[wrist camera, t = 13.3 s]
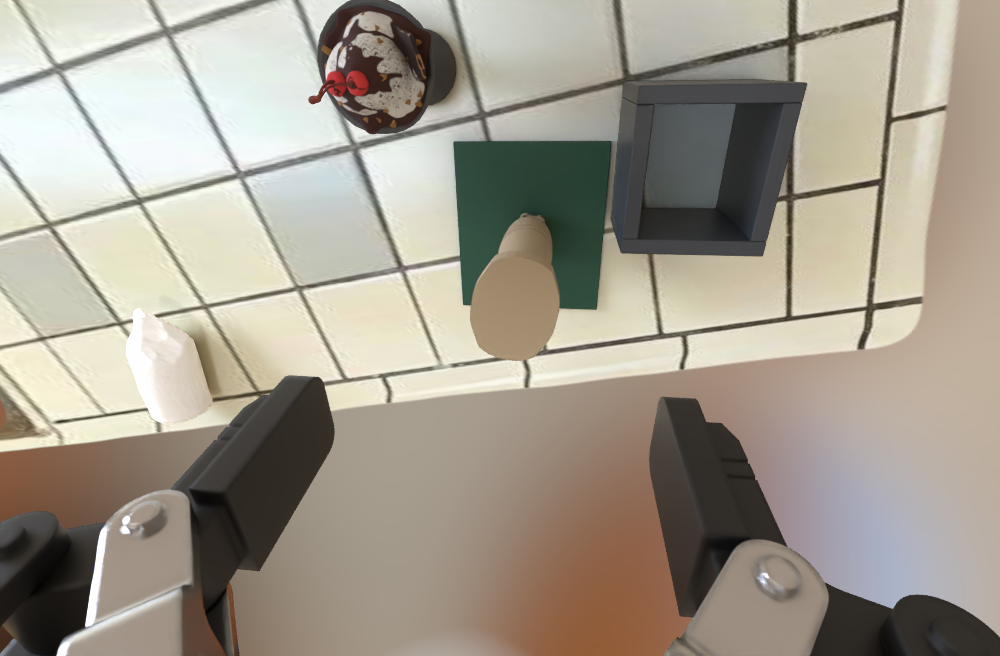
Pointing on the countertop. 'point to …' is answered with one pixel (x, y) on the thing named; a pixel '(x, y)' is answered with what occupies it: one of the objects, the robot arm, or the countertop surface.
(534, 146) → the mat
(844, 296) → the countertop surface
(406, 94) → the sundae
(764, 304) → the countertop surface
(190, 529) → the robot arm
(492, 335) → the handle
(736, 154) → the grey box
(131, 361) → the white tapered piece
